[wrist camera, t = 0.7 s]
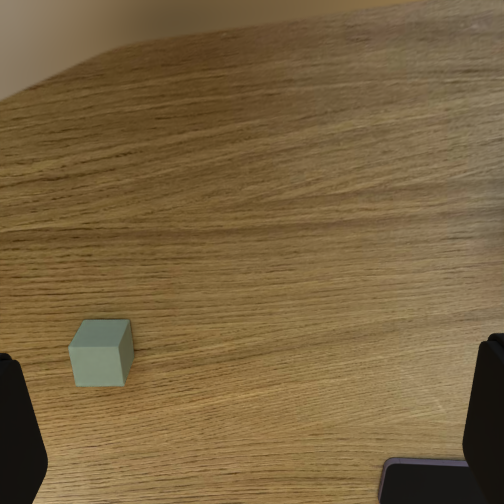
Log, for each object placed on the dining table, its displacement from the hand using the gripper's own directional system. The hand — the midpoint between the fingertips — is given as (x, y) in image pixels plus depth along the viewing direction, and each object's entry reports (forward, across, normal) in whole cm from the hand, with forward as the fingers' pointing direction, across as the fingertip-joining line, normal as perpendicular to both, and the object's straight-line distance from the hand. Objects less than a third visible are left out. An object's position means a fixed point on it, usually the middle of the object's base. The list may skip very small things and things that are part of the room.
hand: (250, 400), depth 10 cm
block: (+32, +15, +19) cm, 40 cm away
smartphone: (+32, -20, +41) cm, 56 cm away
